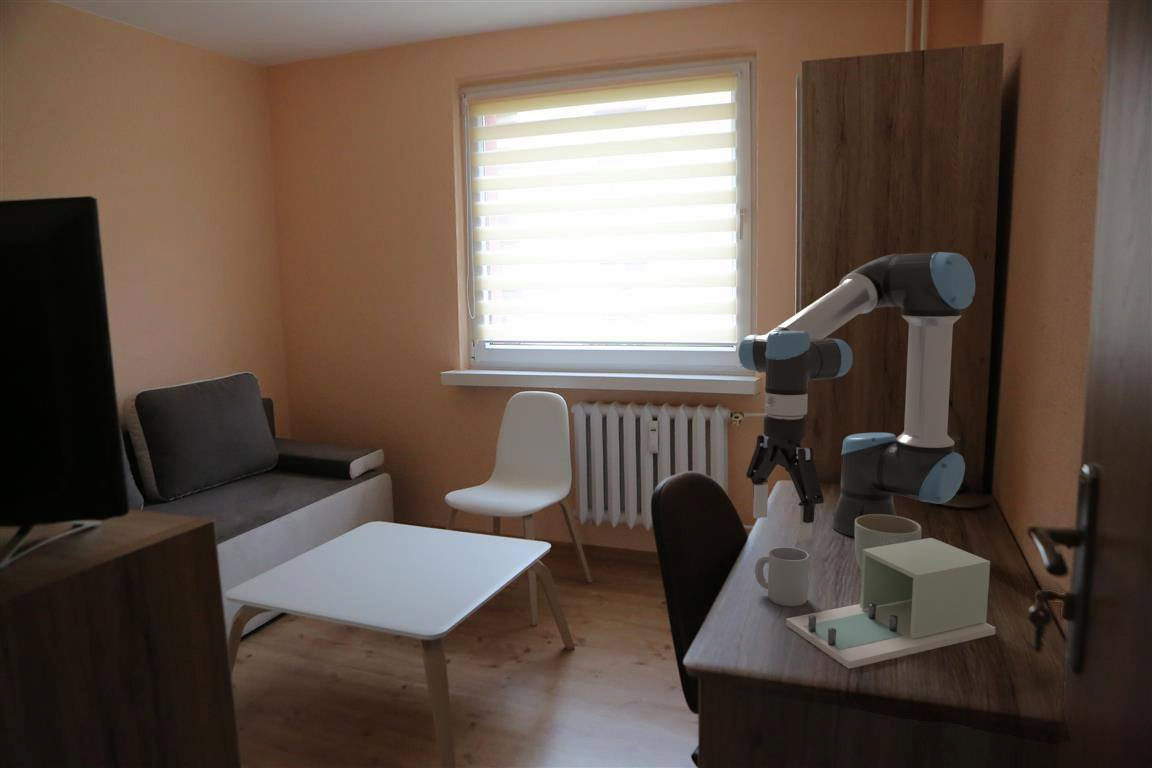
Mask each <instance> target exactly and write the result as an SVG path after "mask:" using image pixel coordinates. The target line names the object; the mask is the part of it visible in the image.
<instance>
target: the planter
mask: <svg viewBox="0 0 1152 768" xmlns="http://www.w3.org/2000/svg"><path fill="white" fill-rule="evenodd" d="M921 539H922V526H921V524H920V523H919V522H916V521H915V520H913V519H909V518H906V517H903V516H898V515H897V516H893V515H884V514H871V515H863V516H860V517H858V518H856V519H855V537H854V549H855V558H856V559H855V560H856V564H857V565H858V568H859V569H860V570H862V549H868V548H874V547H880V546H886V545H892V544H897V543H903V542H909V541H915V540H921Z"/></svg>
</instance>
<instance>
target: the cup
mask: <svg viewBox="0 0 1152 768" xmlns="http://www.w3.org/2000/svg"><path fill="white" fill-rule="evenodd" d="M809 561H810V555H809V553H808V552H807V551H805V550H803V549H801V548H796V547H792V546H788V547H787V546H779V547H773V548H771V549H770V550H769V551H768V554H763V555H762V554H761V555H760V556H759V557H757V560H756V562H755V565H754V572H755V573H754V574H755V579H756V582H757V583H758V585H760V586H761V587H762V588H764V589H765V590H766V589H767V597H768V599H769V601H770V602H772V603H774V604H776V605H778V606H781V607H787V608H788V607H790V608H791V607H792V608H794V607H802V606H804V605H805V604H806V603H807V602H808V601H807V600H808V595H809V591H808V590H809V570H810V569H809V568H810V567H809V565H810V562H809ZM766 564H768V573H767V574H768V575H767V579H768V580H767V579H766V578H765V576H764V567H765V565H766Z"/></svg>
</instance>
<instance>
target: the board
mask: <svg viewBox="0 0 1152 768" xmlns="http://www.w3.org/2000/svg"><path fill="white" fill-rule="evenodd" d="M868 611H869V608H866V609H862V608H860V603H858V604H853V605H847V606H842V607H837V608H833V609H828V610H823V611H822V610H821V611H817V612H813V613H807V614H803V615H797V616H793V617H787V618H785V626H786V627H787V628H789V629H790V630H792V631H793V632H795V633H796V634H797V635H799V636H801V637H802V638H803V639H805V640H806V641H808V642H809V643H811V644H812V645H813V646H816V648H818V649H819V650H821V651H822V652H824V653H825V654H827V656H829V657H831V658H832V659H834V660H835V661H837V662H838V663H840V664H841V665H843V666H844V667H845V668H847V669H854V668H859V667H863V666H866V665H871V664H875V663H876V664H877V663H880V662H883V661H887V660H888V661H889V660H892V659H897V658H900V657H901V658H902V657H905V656H909V655H913V654H918V653H922V652H925V651H931V650H934V649H939V648H942V647H947V646H951V645H955V644H960V643H964V642H968V641H972V640H977V639H981V638H986V637H989V636H994V635H996V626H994V625H993V626H992V624H990V623H987V622H984V623H979V624H975V625H970V626H966V627H962V628H957V629H953V630H948V631H944V632H940V633H935V634H931V635H926V636H922V637H918V638H912V637H911V636H910V630H911V611H912V599H911V600H906V601H901V602H896V603H891V604H886V605H881V606H876V619H869V618H868ZM810 615H813V616H816V631H815V632H813V633H811V632H809V631H808V621H809V616H810ZM890 615H895V616H897V617H898V623H897V632H892V631H890V630H889V626H890ZM829 628H834V629H836V645H834V646H830V645H828V629H829Z"/></svg>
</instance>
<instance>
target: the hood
mask: <svg viewBox="0 0 1152 768" xmlns="http://www.w3.org/2000/svg"><path fill="white" fill-rule="evenodd" d="M860 570H861V569H860ZM990 570H991V561H990V560H989V559H985V558H983V557H980V556H979V555H975V554H973V553H970V552H968V551H965V550H963V549H961V548H958V547H955V546H953V545H951V544H948V543H946V542H943V541H940V540H939V539H935V538H934V537H933V538H932V537H928V538H921V540H915V541H909V542H903V543H897V544H892V545H886V546H880V547H874V548H868V549H862V570H861V571H860V573H861V574H860V575H861V577H860V597H859V598H860V599H859V604H860V608H862V609H866V608H869V604H870V603H873V604H876V606H881V605H886V604H891V603H896V602H901V601H906V600H911V599H912V611H911V630H910V636H911V637H912V638H918V637H922V636H926V635H931V634H935V633H940V632H944V631H948V630H953V629H957V628H962V627H966V626H970V625H975V624H979V623H984V622H985V623H987V616H988V615H987V613H988V600H989V585H990V584H989V583H990V573H991V571H990Z"/></svg>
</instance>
